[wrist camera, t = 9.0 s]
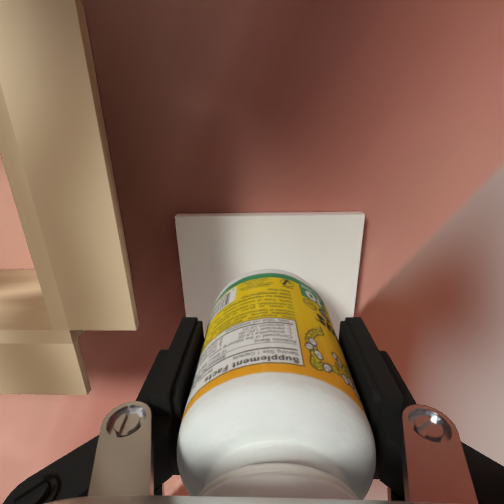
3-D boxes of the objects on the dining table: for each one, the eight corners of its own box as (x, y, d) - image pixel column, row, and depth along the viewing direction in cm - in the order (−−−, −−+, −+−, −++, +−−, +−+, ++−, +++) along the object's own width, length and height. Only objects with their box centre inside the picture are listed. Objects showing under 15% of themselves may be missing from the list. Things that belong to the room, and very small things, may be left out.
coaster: (361, 211, 15) (364, 214, 14) (344, 360, 18) (347, 368, 17) (178, 213, 15) (174, 216, 15) (194, 359, 18) (191, 366, 18)
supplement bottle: (201, 274, 14) (89, 530, 5) (319, 256, 13) (439, 504, 4) (226, 368, 16) (178, 678, 7) (330, 355, 15) (430, 672, 6)
